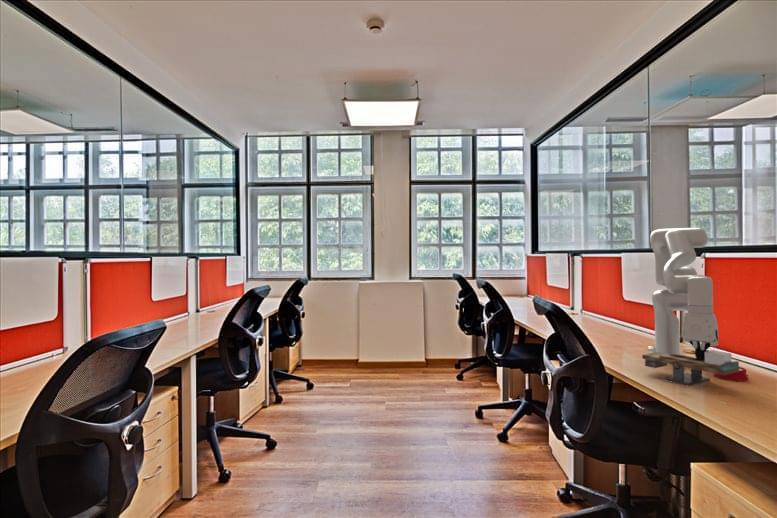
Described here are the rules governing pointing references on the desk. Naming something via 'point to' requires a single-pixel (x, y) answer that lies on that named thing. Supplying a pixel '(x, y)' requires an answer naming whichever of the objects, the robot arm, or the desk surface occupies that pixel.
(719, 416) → the desk surface
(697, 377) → the stand
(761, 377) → the desk surface
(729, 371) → the beam
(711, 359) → the rider
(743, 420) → the desk surface
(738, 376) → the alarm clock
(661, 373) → the desk surface
